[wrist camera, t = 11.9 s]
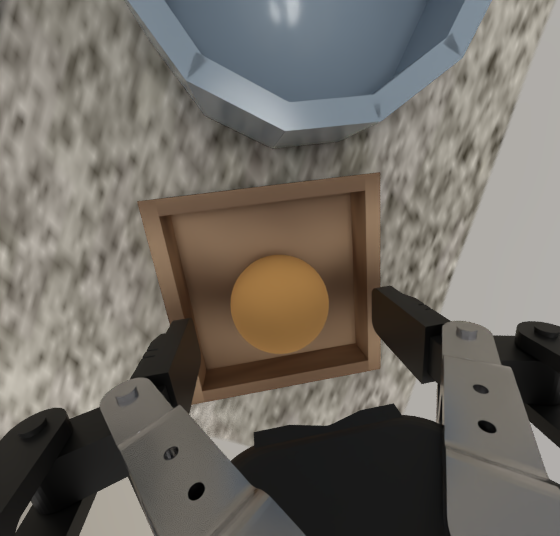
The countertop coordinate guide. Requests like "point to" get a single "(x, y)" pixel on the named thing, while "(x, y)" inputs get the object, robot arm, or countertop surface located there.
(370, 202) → the tray
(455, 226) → the countertop surface
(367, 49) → the faceted grey bowl
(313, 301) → the ball
